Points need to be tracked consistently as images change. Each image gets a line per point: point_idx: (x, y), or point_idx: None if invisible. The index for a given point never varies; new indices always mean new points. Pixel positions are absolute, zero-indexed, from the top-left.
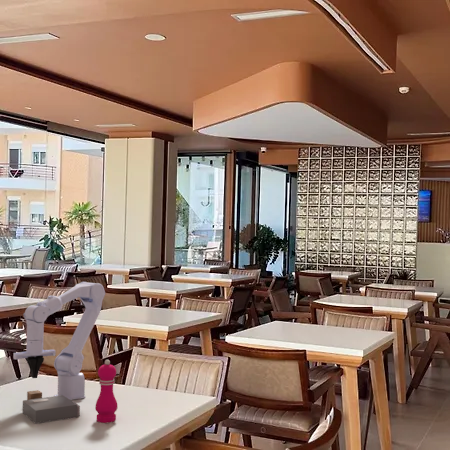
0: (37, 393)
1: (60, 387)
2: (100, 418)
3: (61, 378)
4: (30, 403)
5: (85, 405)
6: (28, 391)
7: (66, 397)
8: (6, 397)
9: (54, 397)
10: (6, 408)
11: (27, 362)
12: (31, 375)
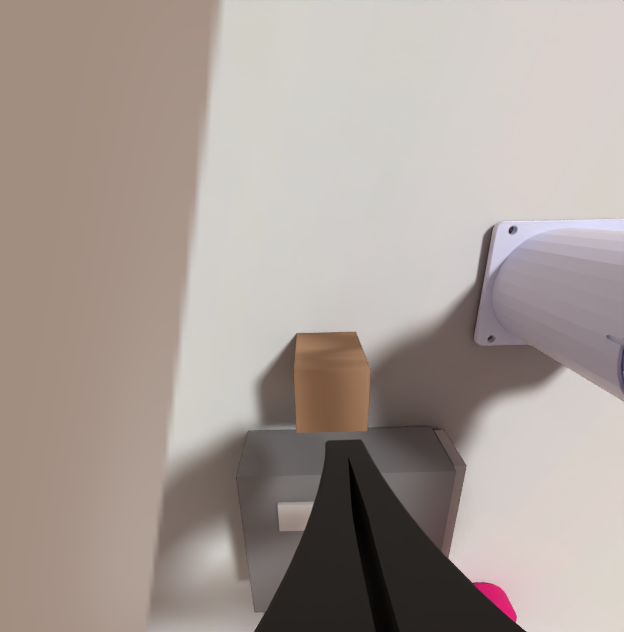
0: (338, 430)
1: (537, 333)
2: None
3: (598, 373)
4: (259, 530)
5: (526, 442)
6: (301, 370)
7: (463, 478)
8: (227, 68)
9: (400, 490)
10: (191, 332)
11: (271, 614)
12: (325, 455)
